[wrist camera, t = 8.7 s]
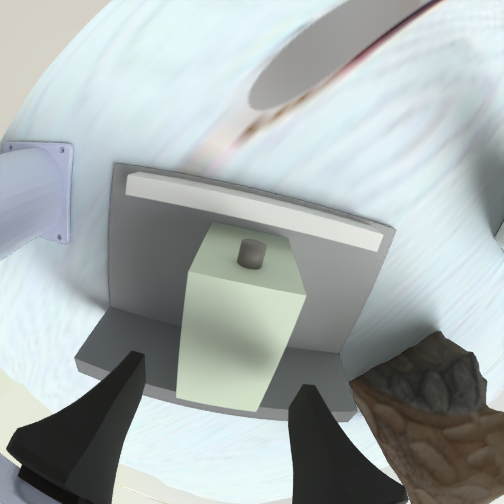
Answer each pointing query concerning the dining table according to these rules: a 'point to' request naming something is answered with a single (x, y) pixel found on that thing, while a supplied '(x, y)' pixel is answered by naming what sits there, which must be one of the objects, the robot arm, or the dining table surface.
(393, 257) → the dining table surface
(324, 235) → the grey piece
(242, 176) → the dining table surface
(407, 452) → the owl
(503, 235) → the supplement box
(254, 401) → the cabinet block
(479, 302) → the dining table surface
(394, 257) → the dining table surface
